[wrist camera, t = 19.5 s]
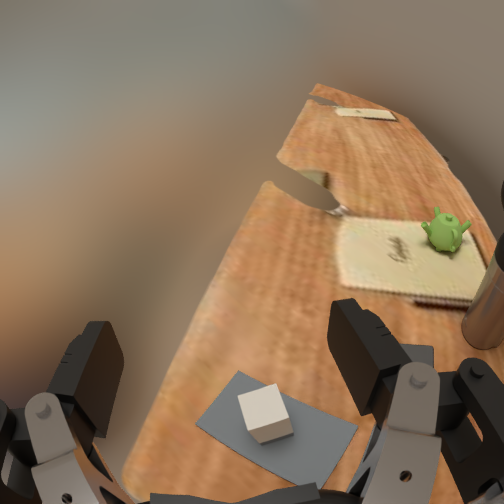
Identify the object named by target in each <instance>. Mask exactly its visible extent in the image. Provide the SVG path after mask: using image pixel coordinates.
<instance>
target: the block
mask: <svg viewBox="0 0 504 504" xmlns="http://www.w3.org/2000/svg"><path fill="white" fill-rule="evenodd" d="M238 400H239V403H240V406H241V410H242V413H243V416H244V420H245V423H246V426H247V430H248V431H249V433H250V434H251V435H252V436H253V437H254V438H255V439H256V440H257V441H258V442H259V444H260V445H261V446H263V445H266V444H269V443H273V442H276V441H279V440H282V439H285V438H288V437H291V436H294V433H293V429H292V426H291V422H290V419H289V416H288V413H287V411H286V408H285V405H284V403H283V400H282V398H281V395H280V393H279V390H278V387H277V385H276V383H275V384H272V385H269V386H266V387H263V388H260V389H257V390H254V391H251V392H248V393H245V394H241V395H238Z"/></svg>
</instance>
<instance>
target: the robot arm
mask: <svg viewBox="0 0 504 504" xmlns="http://www.w3.org/2000/svg"><path fill="white" fill-rule="evenodd" d="M501 201H502V205H503V208H504V181H503V185H502V190H501ZM462 332H463V335H464V337H465V339H466V340H467V341H468V342H469V344H471V345H472V346H473V347H475V348H478V349H489V348H491V347H498V346H499V344H500V343H501V342H502V340H503V339H504V233H503V234H502V235H501V237H500V238H499V241H498V243H497V246H496V248H495V251H494V254H493V256H492V259H491V261H490V264H489V266H488V269H487V271H486V273H485V276H484V278H483V280H482V282H481V284H480V287H479V289H478V291H477V293H476V295H475V297H474V299H473V301H472V303H471V305H470V307H469V309H468V310H467V312H466V315H465V317H464V319H463V321H462ZM327 341H328V346H329V349H330V352H331V354H332V356H333V358H334V360H335V362H336V364H337V366H338V368H339V370H340V372H341V374H342V377H343V379H344V381H345V383H346V385H347V387H348V389H349V391H350V393H351V396H352V398H353V400H354V402H355V404H356V406H357V408H358V411H359V413H360V415H361V416H364V415H367V414H371V413H372V414H373V416H374V418H375V420H376V422H375V424H374V427H373V430H372V433H371V436H370V439H369V442H368V444H367V447H366V450H365V452H364V455H363V458H362V460H361V463H360V465H359V467H358V469H357V471H356V473H355V475H354V477H353V479H352V481H351V482H350V484H349V487H348V489H347V491H346V493H345V492H342V491H336V490H327V489H318V488H317V485H316V482H313V483H309V484H304V485H299V486H294V487H288V488H283V489H276V490H273V491H270V492H267V493H265V494H262V495H259V496H256V497H253V498H250V499H247V500H243V501H240V502H236V503H226V502H220V501H214V500H209V499H204V498H199V497H195V496H190V495H169V494H156V493H150V501H147V502H143V503H138V504H428V503H429V500H430V496H431V492H432V488H433V484H434V480H435V476H436V471H437V466H438V461H439V455H440V450H441V452H442V454H443V456H444V459H445V461H446V463H447V465H448V467H449V469H450V472H451V474H452V476H453V478H454V481H455V483H456V485H457V487H458V490H459V492H460V495H461V497H462V499H463V502H464V504H504V385H503V383H502V382H501V381H500V379H499V378H498V377H497V375H496V374H495V373H494V371H493V370H492V369H491V368H490V366H489V365H488V364H487V363H486V362H484V361H483V360H481V359H478V358H467V359H465V360H463V361H462V363H461V364H460V366H459V368H458V370H457V371H452V372H440V373H437V372H436V370H435V369H434V368H432V367H431V366H429V365H428V364H425V363H421V362H412V360H411V359H410V358H409V356H408V355H407V353H406V352H405V351H404V349H403V348H402V347H401V345H400V344H399V343H398V341H397V340H396V339H395V337H394V336H393V335H391V332H390V331H389V329H388V328H387V327H385V324H384V323H383V322H382V320H381V319H380V318H379V316H377V315H376V314H374V313H372V312H371V311H369V310H368V309H366V310H362V308H361V307H360V306H359V304H358V303H357V302H356V300H355V299H353V298H350V299H343V300H337V301H333V302H332V304H331V310H330V318H329V325H328V332H327ZM123 367H124V357H123V353H122V350H121V348H120V345H119V343H118V340H117V338H116V335H115V333H114V330H113V328H112V325H111V323H110V322H109V321H90V322H89V323H88V324H87V326H86V328H85V329H84V331H83V333H82V335H78V336H77V337H76V338H75V339H74V340H73V341H72V342H71V343H70V344H69V346H68V348H67V350H66V352H65V355H64V356H63V358H62V360H61V364H59V366H58V368H57V370H56V372H55V374H54V376H53V378H52V380H51V382H50V384H49V387H48V389H47V391H46V393H40V394H37V395H35V396H34V397H33V398H31V399H30V401H29V402H28V404H27V405H26V408H19V409H9V407H8V406H7V405H6V404H5V403H4V402H3V401H2V400H0V504H42V502H43V504H135V503H134V502H133V501H132V499H131V498H130V497H129V496H128V495H127V494H126V493H125V492H124V491H123V489H121V487H120V486H119V484H118V483H117V481H116V480H115V478H114V476H113V475H112V473H111V471H110V470H109V468H108V466H107V465H106V463H105V461H104V459H103V458H102V456H101V454H100V452H99V451H98V449H97V447H96V445H95V444H94V443H93V438H94V437H100V438H106V434H107V429H108V424H109V421H110V416H111V412H112V408H113V404H114V400H115V397H116V393H117V389H118V386H119V382H120V378H121V375H122V371H123ZM469 413H471V415H472V416H473V418H474V420H475V421H476V423H477V425H478V426H479V428H480V430H481V432H482V434H483V442H482V441H481V439H480V438H479V436H478V434H477V432H476V431H475V429H474V427H473V425H472V424H471V422H470V420H469V419H468V417H467V416H468V414H469ZM7 451H8V452H9V453H10V454H11V455H12V456H13V457H14V458H13V462H12V466H11V470H10V474H9V478H8V483H7V486H6V485H5V484H4V483H3V481H2V478H1V470H2V467H3V463H4V459H5V456H6V452H7Z"/></svg>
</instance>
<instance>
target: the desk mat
mask: <svg viewBox="0 0 504 504" xmlns="http://www.w3.org/2000/svg"><path fill="white" fill-rule="evenodd" d="M266 386H267V385H265V384H263V383H261V382H259V381H257V380H255V379H253V378H251V377H250V376H248V375H246V374H244V373H242V372H240V371H238V372H237V373H236V374H235V375H234V377H233V378H232V379H231V381H230V382H229V383H228V384H227V386H226V387H225V388H224V389H223V391H222V392H221V393H220V394H219V396H218V397H217V398H216V399H215V400H214V402H213V403H212V404H211V405H210V407H209V408H208V409H207V410H206V411H205V413H204V414H203V415H202V416H201V417H200V419H199V420H198V421H197V422H196V423H195V424H196V425H197V426H199V427H200V428H202V429H203V430H204V431H206V432H207V433H209V434H210V435H212V436H213V437H214V438H216V439H217V440H219V441H220V442H222V443H223V444H225V445H227V446H228V447H230V448H231V449H233V450H234V451H236V452H238V453H239V454H241V455H242V456H244V457H246V458H247V459H249V460H251V461H253V462H254V463H256V464H258V465H260V466H261V467H263V468H265V469H267V470H269V471H270V472H272V473H274V474H276V475H278V476H280V477H282V478H284V479H286V480H288V481H290V482H292V483H294V484H296V485H298V486H299V485H304V484H309V483H313V482H316V485H317V488H318V489H321V488H322V486H323V485H324V483H325V482H326V480H327V479H328V477H329V476H330V474H331V473H332V471H333V469H334V468H335V466H336V465H337V463H338V461H339V460H340V458H341V456H342V455H343V453H344V451H345V450H346V448H347V446H348V444H349V442H350V441H351V439H352V437H353V435H354V433H355V432H356V430H357V428H358V426H357V425H355V424H352V423H350V422H347V421H344V420H342V419H339V418H337V417H335V416H332V415H330V414H327V413H325V412H323V411H320V410H318V409H316V408H313V407H311V406H309V405H307V404H304V403H302V402H300V401H298V400H296V399H294V398H291V397H289V396H287V395H285V394H283V393H281V392H279V393H280V395H281V398H282V400H283V403H284V405H285V408H286V411H287V413H288V416H289V419H290V422H291V426H292V429H293V433H294V436H291V437H288V438H285V439H282V440H279V441H276V442H273V443H269V444H266V445H263V446H261V445H260V444H259V442H258V441H257V440H256V439H255V438H254V437H253V436H252V435H251V434H250V433H249V431H248V430H247V426H246V423H245V420H244V416H243V413H242V410H241V406H240V403H239V400H238V395H241V394H245V393H248V392H251V391H254V390H257V389H260V388H263V387H266Z"/></svg>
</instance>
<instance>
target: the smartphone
mask: <svg viewBox="0 0 504 504" xmlns="http://www.w3.org/2000/svg"><path fill="white" fill-rule="evenodd" d="M400 345H401V347H402V348H403V349H404V351H405V352H406V353H407V355H408V356H409V358H410V359H411V360H412V362H421V363H425V364H428V365H429V366H431V367H432V368H434V349H433V347H432V346H425V345H411V344H400Z"/></svg>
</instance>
